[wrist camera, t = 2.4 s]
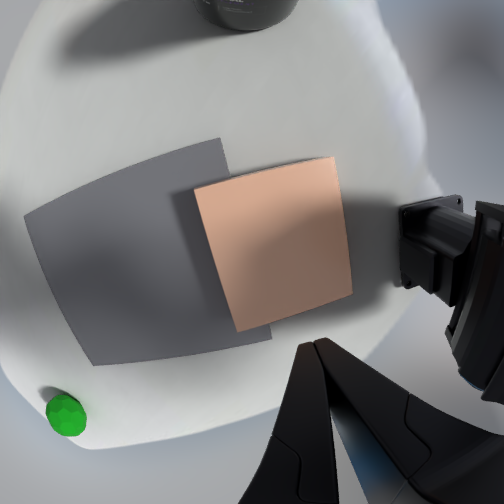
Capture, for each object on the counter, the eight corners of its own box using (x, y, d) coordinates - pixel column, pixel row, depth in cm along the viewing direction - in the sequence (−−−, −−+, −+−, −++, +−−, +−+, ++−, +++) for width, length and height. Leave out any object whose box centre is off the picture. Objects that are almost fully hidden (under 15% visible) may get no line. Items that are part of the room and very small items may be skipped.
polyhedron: (65, 382, 22) (48, 412, 18) (99, 410, 24) (86, 441, 19) (50, 393, 23) (34, 419, 18) (80, 418, 24) (68, 446, 20)
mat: (220, 138, 16) (219, 137, 15) (271, 332, 20) (272, 339, 20) (29, 213, 16) (23, 216, 16) (96, 360, 21) (93, 365, 20)
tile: (194, 188, 16) (322, 157, 16) (234, 319, 18) (342, 284, 19) (194, 189, 14) (333, 156, 15) (237, 332, 17) (352, 294, 18)
